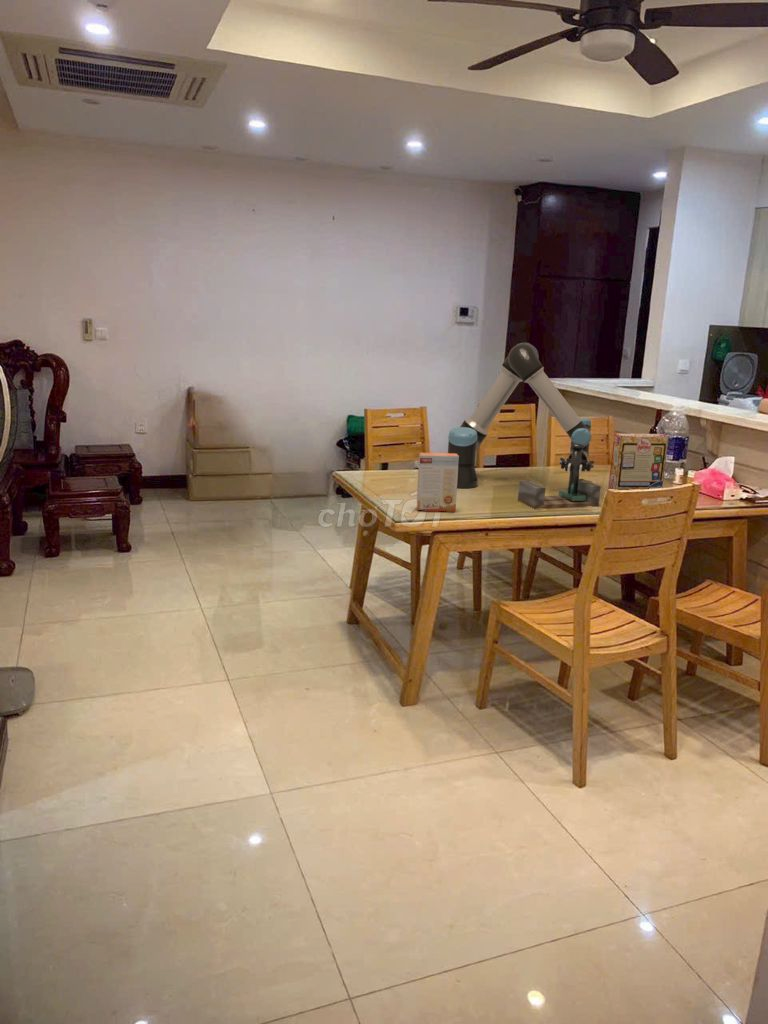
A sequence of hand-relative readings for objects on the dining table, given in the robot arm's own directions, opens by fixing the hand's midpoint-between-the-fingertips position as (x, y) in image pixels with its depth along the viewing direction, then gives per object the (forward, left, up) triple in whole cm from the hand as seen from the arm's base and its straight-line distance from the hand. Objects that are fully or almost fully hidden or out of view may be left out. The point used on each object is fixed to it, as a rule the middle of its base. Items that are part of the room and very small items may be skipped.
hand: (574, 470), depth 288 cm
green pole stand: (+3, +5, -12) cm, 13 cm away
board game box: (+31, +4, -14) cm, 35 cm away
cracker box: (-55, +3, -14) cm, 57 cm away
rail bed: (-3, +5, -14) cm, 15 cm away
